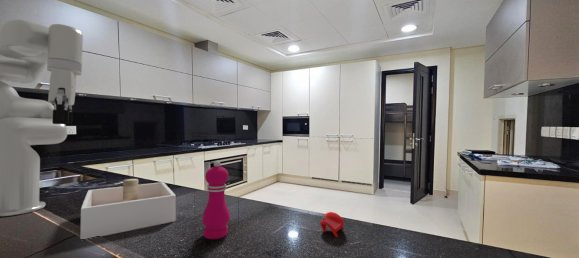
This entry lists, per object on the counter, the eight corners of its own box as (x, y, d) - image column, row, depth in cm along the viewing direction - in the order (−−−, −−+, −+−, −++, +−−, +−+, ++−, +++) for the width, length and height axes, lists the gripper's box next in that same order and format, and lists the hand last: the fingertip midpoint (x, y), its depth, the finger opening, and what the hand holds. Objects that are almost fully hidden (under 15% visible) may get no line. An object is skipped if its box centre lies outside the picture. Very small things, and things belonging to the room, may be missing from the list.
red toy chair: (335, 230, 60) (348, 214, 63) (317, 216, 64) (330, 202, 67) (336, 245, 65) (348, 230, 68) (319, 232, 68) (332, 218, 71)
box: (87, 214, 76) (88, 190, 76) (163, 202, 90) (163, 182, 90) (80, 240, 59) (81, 208, 59) (175, 221, 72) (175, 195, 72)
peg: (122, 217, 75) (122, 179, 75) (137, 214, 77) (137, 178, 77) (122, 221, 72) (123, 182, 72) (138, 218, 74) (138, 180, 74)
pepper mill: (221, 241, 59) (223, 163, 60) (196, 238, 61) (197, 162, 61) (234, 230, 67) (235, 159, 67) (210, 227, 68) (212, 158, 68)
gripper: (52, 70, 76) (50, 123, 76) (41, 59, 62) (38, 123, 62) (83, 74, 80) (81, 124, 80) (79, 65, 67) (76, 125, 67)
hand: (62, 123), depth 71 cm, fingers open, 9 cm apart
